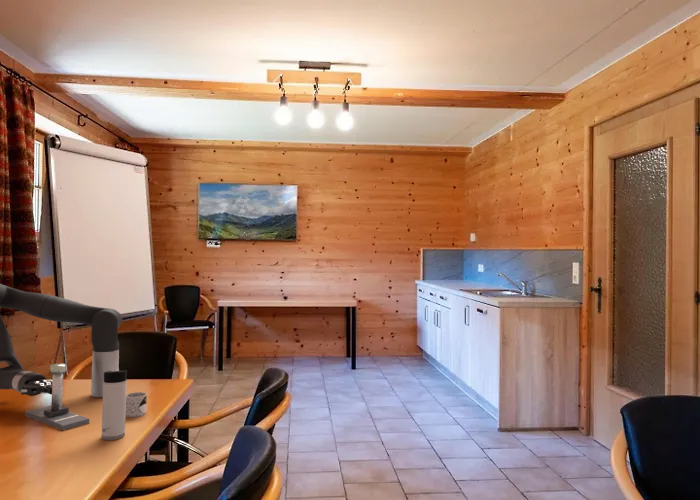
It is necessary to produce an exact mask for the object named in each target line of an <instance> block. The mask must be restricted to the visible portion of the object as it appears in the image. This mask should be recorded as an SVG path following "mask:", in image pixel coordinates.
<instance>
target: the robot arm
mask: <svg viewBox="0 0 700 500" xmlns="http://www.w3.org/2000/svg"><path fill="white" fill-rule="evenodd" d="M0 308H3V309H10V310H16V311H19V312H22V313H24V314H27V315H30V316H33V317H35V318H39V319H43V320H46V321H53V322H57V323H58V322H60V323H74V324H76V323H77V324H84V325H88V326H91V332H90V333H91V336H90V337H91V346H92V359H91V361H92V362H91V363H92V364H91V390H90V393H91V394H90V395H91V397H94V398H103V384H104V383H103V382H104V372H108V371H112V372H114V371H119V370H120V368H119V363H120V361H119V359H120V342H119V339H118V334H119V333H118V329H119V328H120V326H121V325H122V322H123V317H122V314H121V313H120V311H119V310H116V309H114V308H109V307H108V308H107V307H101V306H100V307H99V306H93V305H92V306H91V305H87V304H84V303H80V302H78V301H74V300H70V299H67V298H64V297H60V296H55V295H51V294H45V293H39V292H38V293H37V292H32V291H24V290H20V289H17V288H13V287H10V286H7V285H4V284H2V283H0ZM10 334H11V333H10V332H9V329H8V328H7V326H6V324H5V322H4V320H3V317H2V316H1V314H0V363H6V364H7V366H4V367H1V368H0V390H13V391H16V392H17V393H20V395H25V396H26V395H27V396H30V397H35V396H38V395H42V394H43V395H44V394H45V395H46V394H49V395H51V396H52V380H48V379H47V378H46V376H45V375H43V374H42V373H38V372H34V371H31V370H30V371H28V370H25V369H24V367H23V365H22V364H21V362H20V360H19V359H18V357H17V355H16V353H15V350H14V345H13V342H12V338H11V335H10Z"/></svg>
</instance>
